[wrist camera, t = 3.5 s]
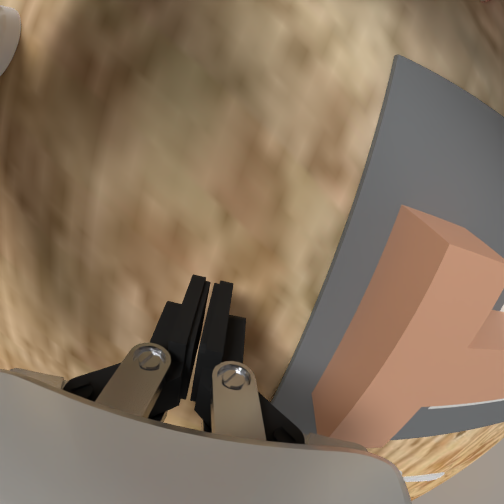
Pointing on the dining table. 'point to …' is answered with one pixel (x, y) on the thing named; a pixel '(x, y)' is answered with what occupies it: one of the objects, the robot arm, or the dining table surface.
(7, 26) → the binoculars
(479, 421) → the mat
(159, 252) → the dining table surface
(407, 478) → the spoon
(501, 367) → the t block
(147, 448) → the robot arm
